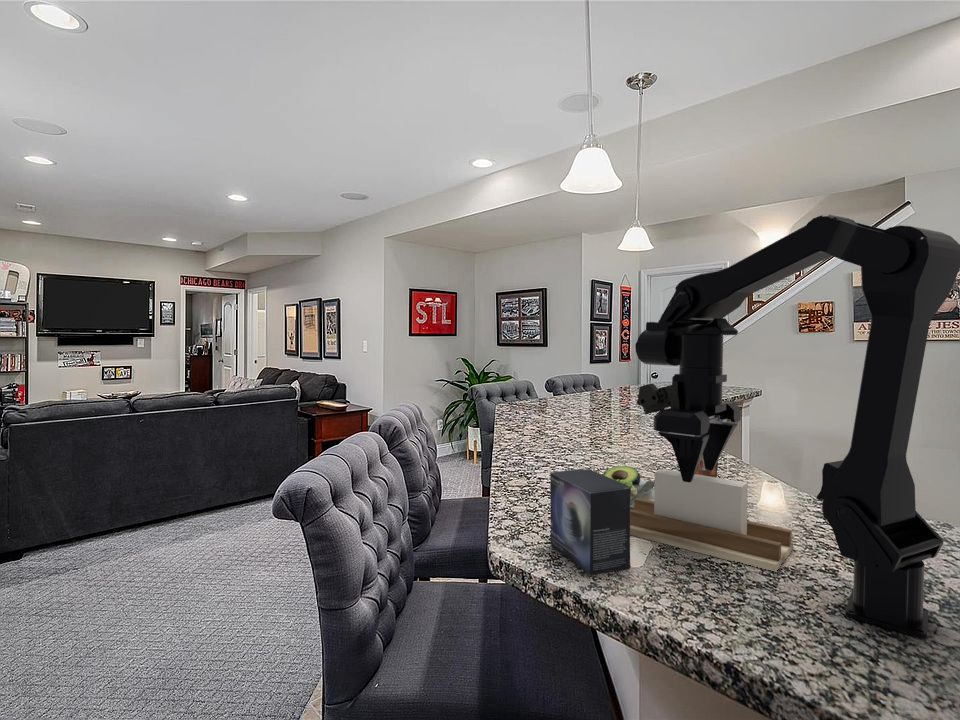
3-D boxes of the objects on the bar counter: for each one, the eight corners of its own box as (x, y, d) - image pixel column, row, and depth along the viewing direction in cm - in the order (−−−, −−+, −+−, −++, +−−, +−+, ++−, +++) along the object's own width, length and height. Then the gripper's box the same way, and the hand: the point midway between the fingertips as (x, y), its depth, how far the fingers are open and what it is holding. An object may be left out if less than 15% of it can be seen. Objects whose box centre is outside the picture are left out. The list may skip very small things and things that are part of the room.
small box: (546, 545, 73) (547, 470, 73) (586, 539, 75) (587, 467, 75) (587, 576, 63) (588, 490, 63) (632, 568, 66) (633, 485, 65)
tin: (677, 470, 117) (677, 433, 117) (691, 470, 117) (692, 433, 117) (704, 488, 102) (705, 446, 102) (720, 489, 102) (721, 446, 102)
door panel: (740, 546, 70) (741, 487, 70) (653, 525, 78) (654, 472, 78) (746, 539, 73) (747, 482, 72) (661, 520, 80) (662, 468, 80)
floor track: (776, 572, 64) (776, 548, 64) (612, 530, 79) (612, 510, 79) (793, 549, 72) (793, 527, 72) (640, 514, 86) (641, 496, 86)
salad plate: (680, 518, 85) (681, 490, 85) (570, 516, 87) (570, 488, 87) (650, 486, 105) (650, 463, 105) (560, 484, 106) (560, 461, 106)
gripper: (670, 364, 87) (668, 456, 88) (618, 367, 73) (617, 478, 74) (742, 366, 80) (740, 467, 80) (700, 370, 66) (698, 493, 66)
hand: (698, 475), depth 75 cm, fingers open, 9 cm apart
